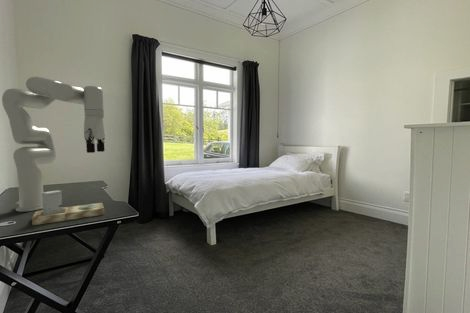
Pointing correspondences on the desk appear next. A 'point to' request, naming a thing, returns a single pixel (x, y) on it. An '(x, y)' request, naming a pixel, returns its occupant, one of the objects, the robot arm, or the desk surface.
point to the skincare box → (52, 202)
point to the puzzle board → (69, 213)
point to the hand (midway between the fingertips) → (96, 152)
